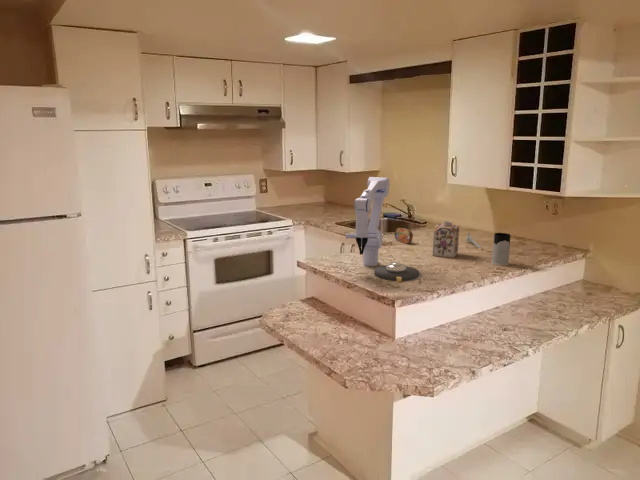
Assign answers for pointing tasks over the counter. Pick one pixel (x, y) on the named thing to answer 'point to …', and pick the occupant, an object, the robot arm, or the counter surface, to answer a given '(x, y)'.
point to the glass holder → (501, 249)
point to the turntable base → (408, 280)
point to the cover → (396, 268)
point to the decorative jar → (445, 240)
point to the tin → (403, 235)
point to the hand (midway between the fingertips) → (361, 254)
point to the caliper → (471, 240)
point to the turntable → (408, 275)
